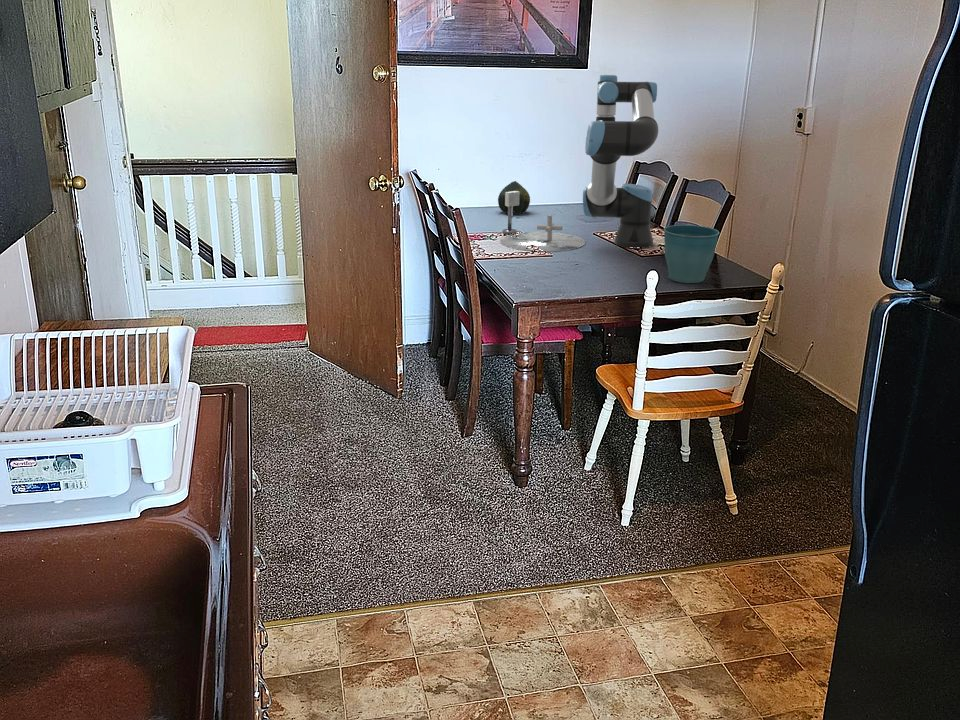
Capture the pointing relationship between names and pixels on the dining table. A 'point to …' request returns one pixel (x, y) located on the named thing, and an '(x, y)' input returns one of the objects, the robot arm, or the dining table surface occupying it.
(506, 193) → the block topped stand
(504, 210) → the squash
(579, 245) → the disc
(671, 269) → the flower pot
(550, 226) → the pipe connector
